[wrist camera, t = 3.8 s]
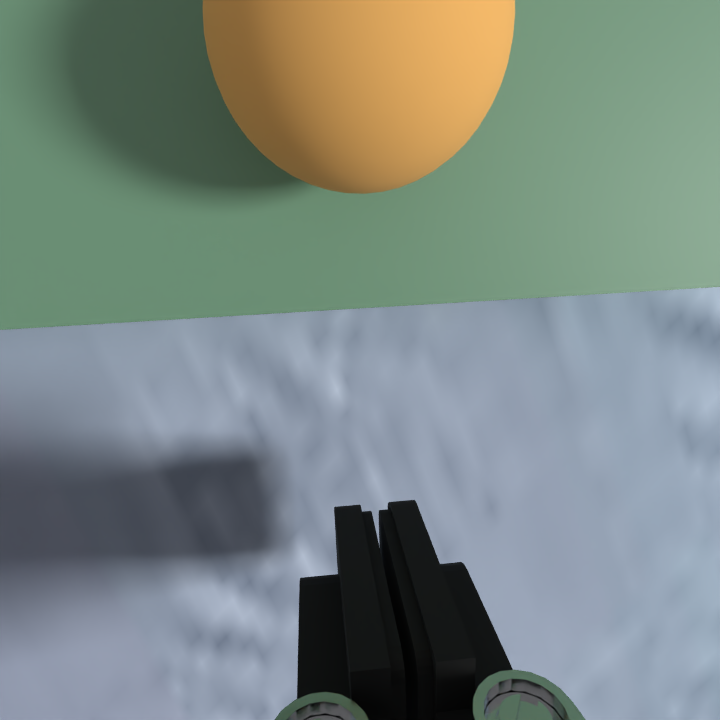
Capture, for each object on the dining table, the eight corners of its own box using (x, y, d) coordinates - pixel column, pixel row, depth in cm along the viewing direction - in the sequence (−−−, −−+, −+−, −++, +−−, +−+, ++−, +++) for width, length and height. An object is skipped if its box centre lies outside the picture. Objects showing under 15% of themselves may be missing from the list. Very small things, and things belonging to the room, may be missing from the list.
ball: (460, 195, 9) (565, 177, 6) (241, 204, 9) (193, 191, 5) (462, -61, 8) (594, -299, 5) (214, -62, 8) (130, -321, 4)
